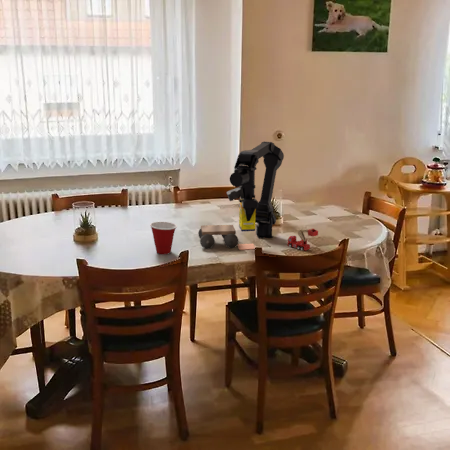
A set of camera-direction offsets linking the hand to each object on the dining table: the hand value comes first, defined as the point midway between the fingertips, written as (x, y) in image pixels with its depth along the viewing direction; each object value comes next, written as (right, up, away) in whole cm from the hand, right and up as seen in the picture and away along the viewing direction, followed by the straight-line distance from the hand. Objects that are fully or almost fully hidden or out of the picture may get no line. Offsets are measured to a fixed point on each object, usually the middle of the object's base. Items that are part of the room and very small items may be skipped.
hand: (247, 218), depth 227 cm
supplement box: (0, -4, +1) cm, 5 cm away
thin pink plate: (0, -12, +3) cm, 12 cm away
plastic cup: (-34, -14, -4) cm, 37 cm away
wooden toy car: (-12, -11, +7) cm, 18 cm away
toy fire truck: (+23, -13, +2) cm, 26 cm away
